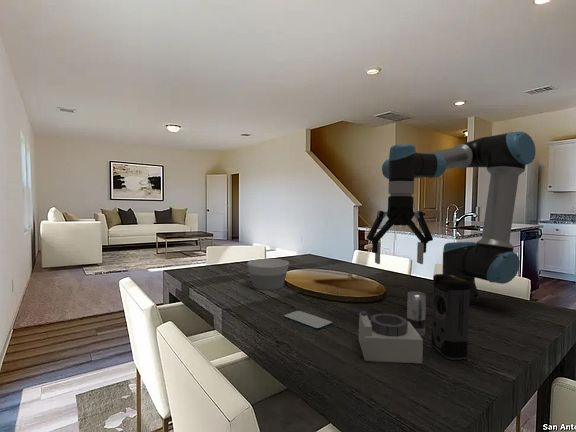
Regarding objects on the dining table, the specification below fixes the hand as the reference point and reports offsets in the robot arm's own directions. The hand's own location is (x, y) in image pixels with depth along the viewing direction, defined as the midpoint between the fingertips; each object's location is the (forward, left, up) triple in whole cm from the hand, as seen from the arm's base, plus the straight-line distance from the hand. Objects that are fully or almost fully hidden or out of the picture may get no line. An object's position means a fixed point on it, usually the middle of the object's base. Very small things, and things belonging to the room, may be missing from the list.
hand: (398, 263), depth 104 cm
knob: (-5, +4, -20) cm, 21 cm away
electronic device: (-10, +16, -21) cm, 28 cm away
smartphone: (+28, -3, -21) cm, 35 cm away
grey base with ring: (+6, +17, -20) cm, 27 cm away
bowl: (+47, -44, -21) cm, 68 cm away
